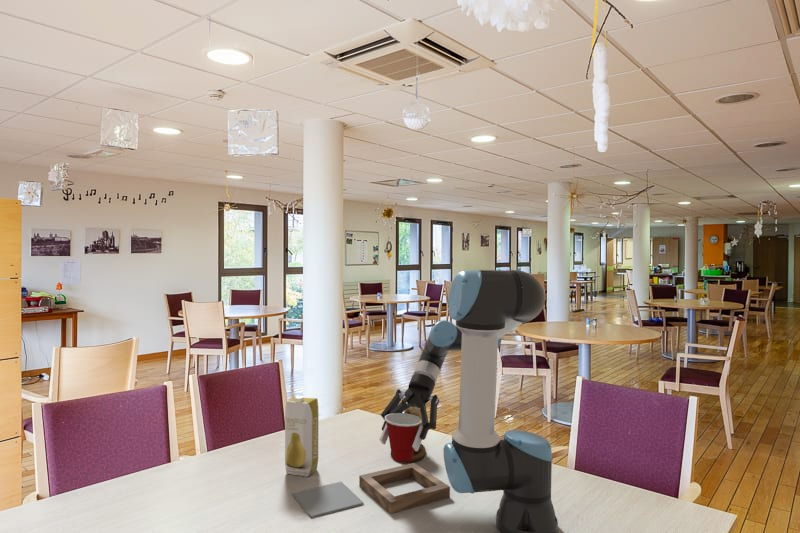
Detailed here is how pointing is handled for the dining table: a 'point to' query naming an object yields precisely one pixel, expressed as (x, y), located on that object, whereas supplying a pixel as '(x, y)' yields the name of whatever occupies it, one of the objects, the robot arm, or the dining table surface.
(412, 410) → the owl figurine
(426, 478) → the square wooden frame
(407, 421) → the plastic cup
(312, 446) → the juice carton
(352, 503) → the rubber mat
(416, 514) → the dining table surface
